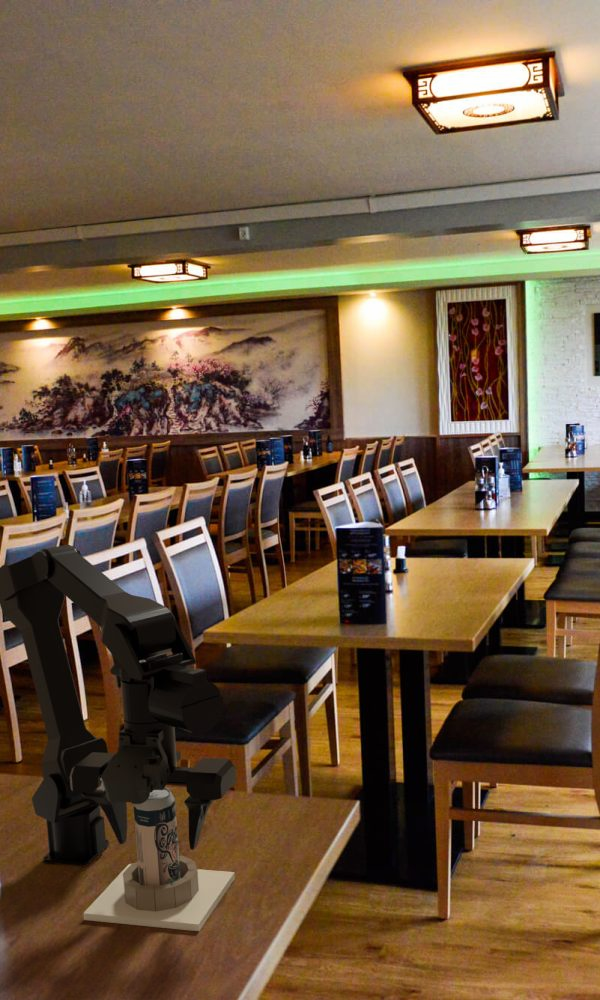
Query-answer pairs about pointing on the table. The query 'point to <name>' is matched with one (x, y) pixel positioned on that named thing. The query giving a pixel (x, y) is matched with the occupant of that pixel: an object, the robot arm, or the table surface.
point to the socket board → (167, 917)
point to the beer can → (157, 839)
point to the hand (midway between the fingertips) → (157, 845)
